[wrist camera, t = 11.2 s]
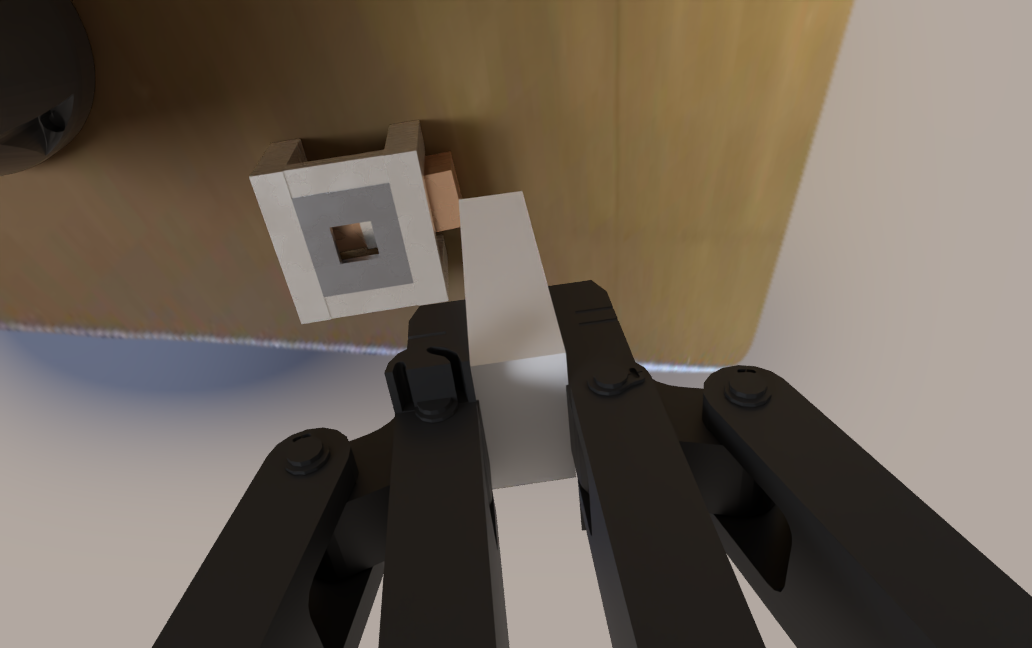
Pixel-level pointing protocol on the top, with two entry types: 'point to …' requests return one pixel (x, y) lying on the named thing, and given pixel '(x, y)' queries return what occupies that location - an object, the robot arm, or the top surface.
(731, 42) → the top surface
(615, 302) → the top surface
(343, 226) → the banded cardboard box
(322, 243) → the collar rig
